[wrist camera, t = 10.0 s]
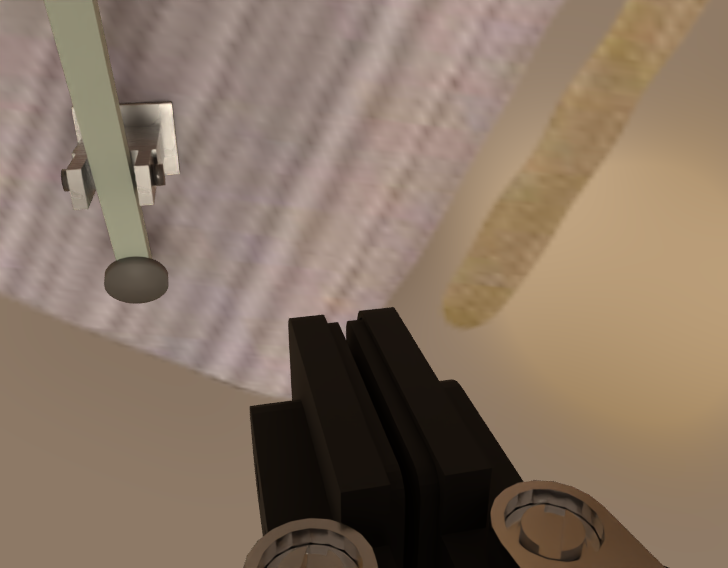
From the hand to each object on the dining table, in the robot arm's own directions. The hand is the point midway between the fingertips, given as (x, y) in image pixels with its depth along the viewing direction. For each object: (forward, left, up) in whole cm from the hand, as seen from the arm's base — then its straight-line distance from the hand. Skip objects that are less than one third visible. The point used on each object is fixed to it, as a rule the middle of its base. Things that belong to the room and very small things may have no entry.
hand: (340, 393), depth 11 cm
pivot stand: (+2, -6, -31) cm, 32 cm away
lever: (-2, -6, -22) cm, 23 cm away
